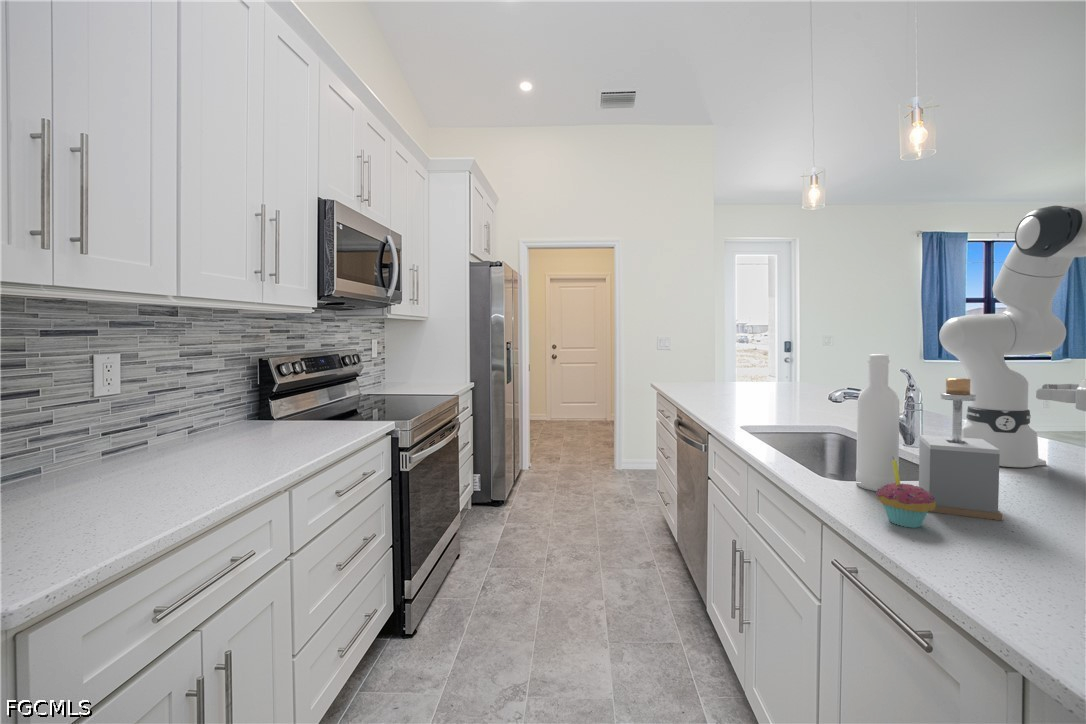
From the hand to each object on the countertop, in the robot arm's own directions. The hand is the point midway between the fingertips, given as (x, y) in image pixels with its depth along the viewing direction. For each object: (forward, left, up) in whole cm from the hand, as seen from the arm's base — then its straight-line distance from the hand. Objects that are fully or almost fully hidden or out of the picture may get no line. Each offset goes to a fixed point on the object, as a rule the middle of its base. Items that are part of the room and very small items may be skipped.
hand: (1039, 391), depth 84 cm
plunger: (-4, -10, -16) cm, 20 cm away
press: (-4, -10, -24) cm, 26 cm away
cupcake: (+10, -20, -24) cm, 33 cm away
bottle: (-12, -22, -24) cm, 35 cm away
